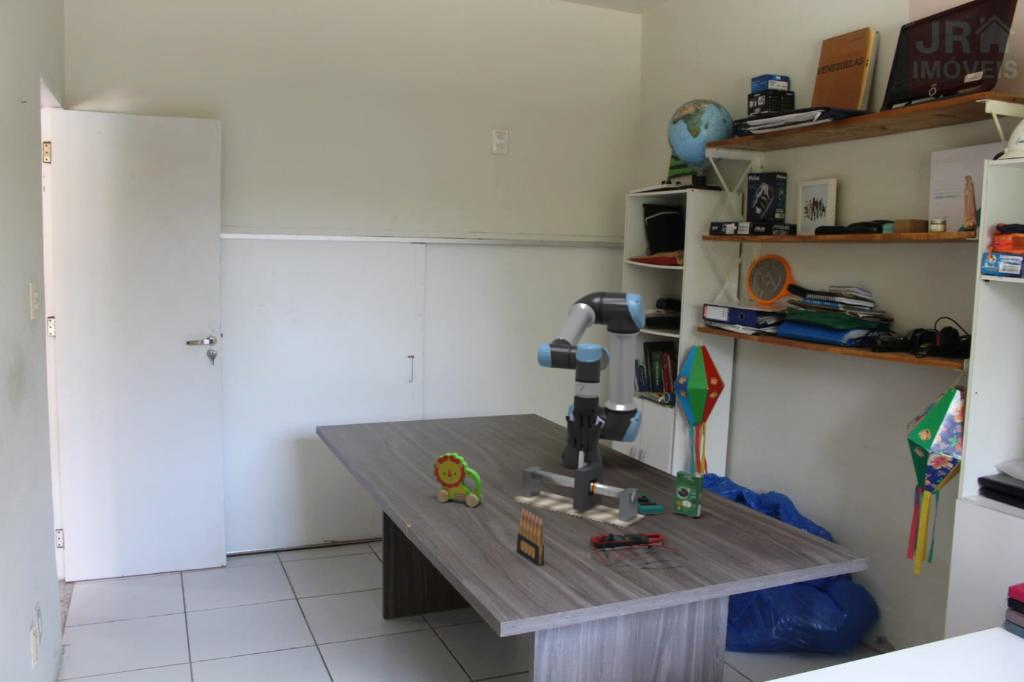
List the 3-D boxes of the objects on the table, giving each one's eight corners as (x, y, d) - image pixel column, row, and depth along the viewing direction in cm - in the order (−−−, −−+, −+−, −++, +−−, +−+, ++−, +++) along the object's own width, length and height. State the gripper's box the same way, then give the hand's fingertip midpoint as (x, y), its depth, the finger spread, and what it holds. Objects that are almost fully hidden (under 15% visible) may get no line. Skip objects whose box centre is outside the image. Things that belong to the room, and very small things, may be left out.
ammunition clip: (516, 551, 222) (518, 507, 220) (522, 550, 222) (524, 506, 221) (537, 566, 212) (539, 519, 211) (543, 564, 213) (546, 518, 212)
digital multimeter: (643, 501, 272) (643, 492, 272) (664, 515, 258) (665, 506, 258) (622, 502, 270) (622, 493, 270) (642, 516, 256) (643, 507, 256)
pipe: (522, 496, 267) (523, 469, 266) (532, 492, 271) (533, 465, 270) (627, 522, 246) (629, 492, 245) (636, 517, 251) (638, 488, 250)
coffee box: (701, 517, 257) (704, 475, 255) (697, 519, 254) (700, 476, 253) (676, 511, 261) (679, 469, 260) (672, 513, 259) (675, 471, 257)
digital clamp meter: (575, 528, 230) (659, 523, 237) (575, 545, 230) (658, 539, 237) (609, 560, 207) (701, 553, 214) (608, 578, 208) (699, 570, 215)
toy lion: (483, 503, 261) (485, 455, 259) (476, 508, 256) (478, 459, 254) (437, 496, 267) (438, 448, 265) (429, 500, 262) (431, 452, 260)
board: (513, 500, 265) (513, 497, 265) (534, 492, 275) (535, 489, 275) (625, 528, 243) (625, 525, 243) (644, 518, 253) (644, 515, 253)
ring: (572, 509, 253) (574, 469, 251) (592, 500, 262) (594, 462, 261) (581, 511, 251) (583, 471, 250) (601, 502, 261) (603, 464, 259)
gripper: (561, 393, 255) (557, 470, 257) (599, 400, 247) (595, 478, 250) (574, 391, 261) (570, 465, 263) (611, 396, 253) (607, 473, 256)
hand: (582, 472), depth 257 cm, fingers closed
